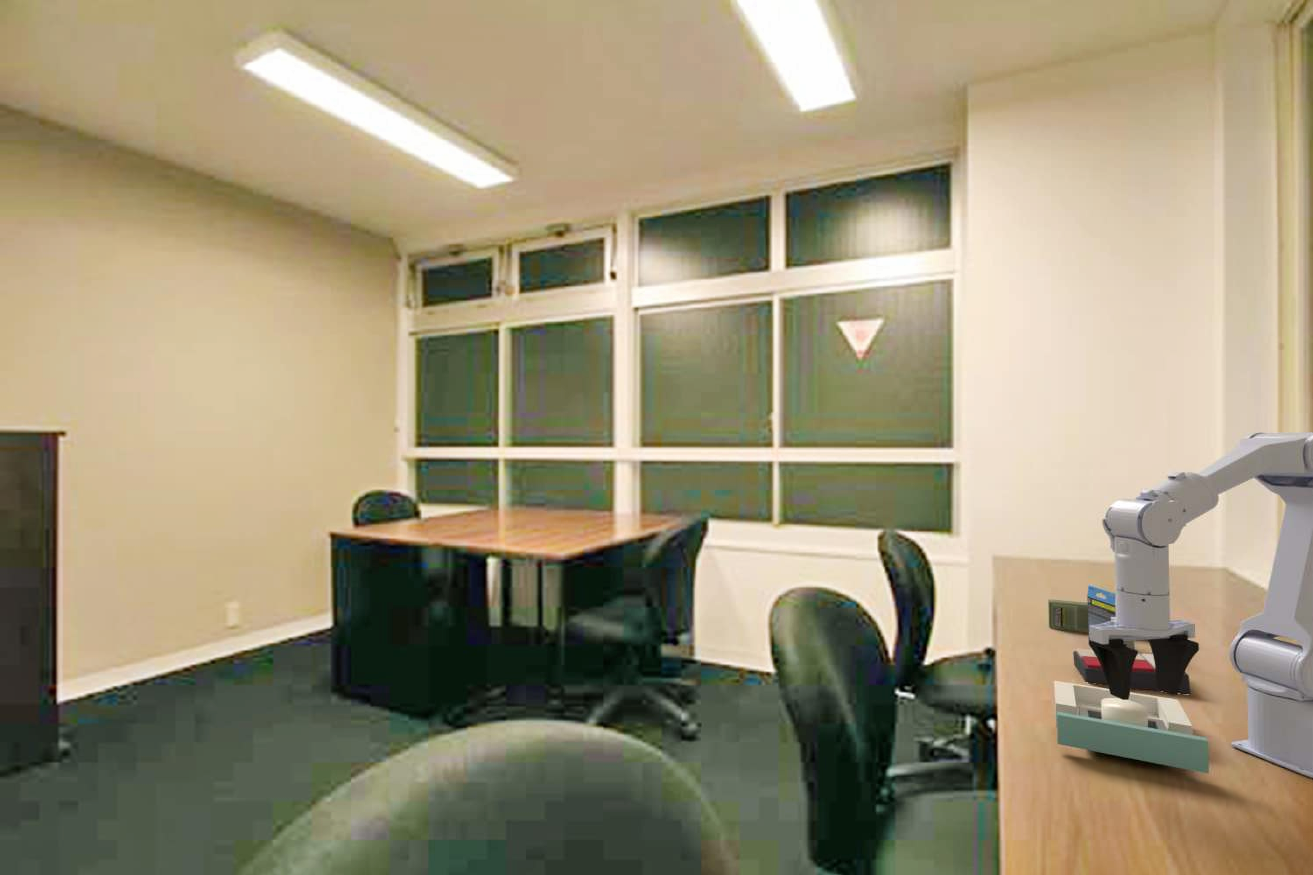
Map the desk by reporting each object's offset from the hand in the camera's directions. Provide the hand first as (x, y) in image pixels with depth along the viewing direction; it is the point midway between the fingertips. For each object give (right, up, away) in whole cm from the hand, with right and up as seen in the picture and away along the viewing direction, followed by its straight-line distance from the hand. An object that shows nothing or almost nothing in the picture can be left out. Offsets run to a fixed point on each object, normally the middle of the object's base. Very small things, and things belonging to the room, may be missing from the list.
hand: (1143, 694), depth 84 cm
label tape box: (+32, -11, +51) cm, 61 cm away
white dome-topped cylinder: (+1, -8, +5) cm, 9 cm away
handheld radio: (+39, -11, +60) cm, 73 cm away
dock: (+5, -10, +12) cm, 16 cm away
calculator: (+22, -11, +32) cm, 40 cm away
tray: (+1, -8, +5) cm, 10 cm away
